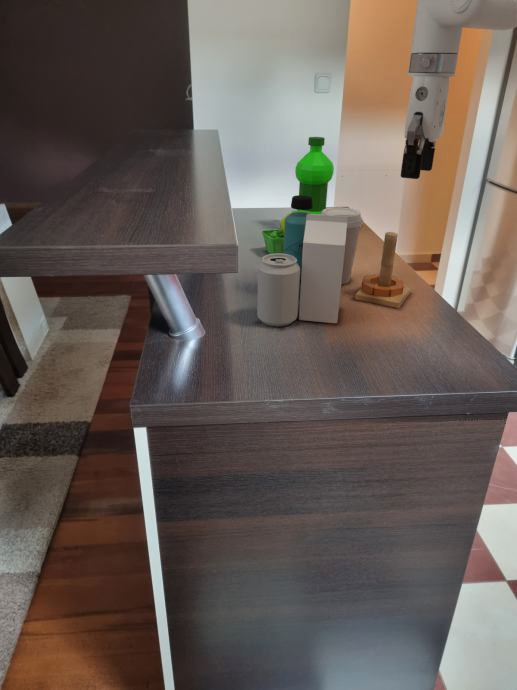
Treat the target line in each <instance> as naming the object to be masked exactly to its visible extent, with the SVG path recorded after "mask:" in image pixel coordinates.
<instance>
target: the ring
mask: <svg viewBox="0 0 517 690" xmlns="http://www.w3.org/2000/svg"><path fill="white" fill-rule="evenodd" d="M379 276H380V273H379V274H378V273H377V274H374V273H373V274H370V275H364V276H363V277H362V280H361V286H360V289H362V290H363V291H364V292H366V293H368V294H370V295H373V294H374V296H381V297H389V296H390V297H394V296H398V295H401V294H403V288H404V287H405V281H403V280H402V279H401V278H398V277H396V276H393V275H392V277H391V284H390V287H382V286H376V285H374V284H378V283H379Z"/></svg>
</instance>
